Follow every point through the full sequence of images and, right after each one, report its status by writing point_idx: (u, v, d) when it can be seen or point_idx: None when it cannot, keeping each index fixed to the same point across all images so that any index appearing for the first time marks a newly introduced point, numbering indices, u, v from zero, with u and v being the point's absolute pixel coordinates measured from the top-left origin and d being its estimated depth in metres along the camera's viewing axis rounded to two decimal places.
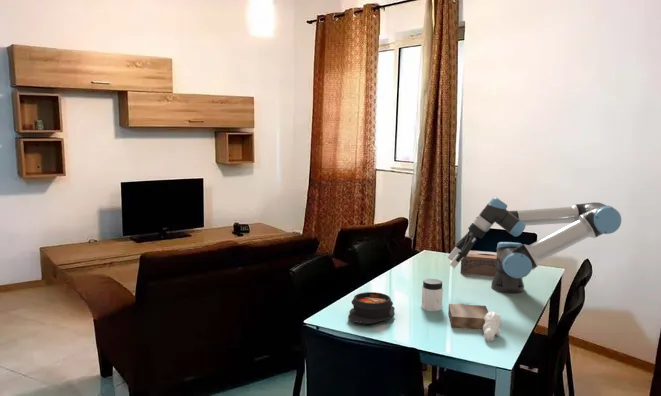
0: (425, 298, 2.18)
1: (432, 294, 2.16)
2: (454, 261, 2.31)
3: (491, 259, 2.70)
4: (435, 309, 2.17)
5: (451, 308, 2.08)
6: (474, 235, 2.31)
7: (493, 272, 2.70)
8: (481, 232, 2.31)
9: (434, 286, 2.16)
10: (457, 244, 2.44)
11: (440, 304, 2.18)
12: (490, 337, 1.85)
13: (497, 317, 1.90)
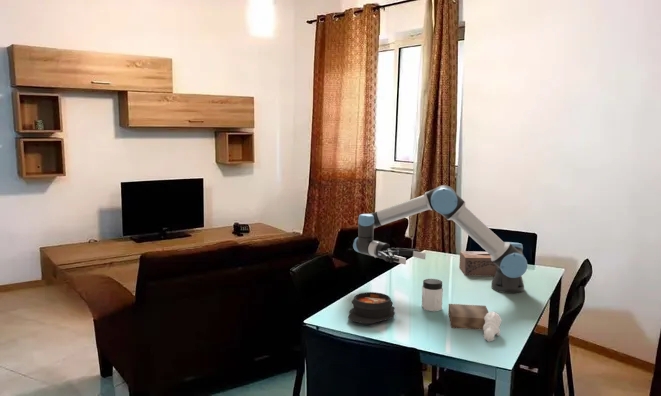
0: (425, 298, 2.18)
1: (432, 294, 2.16)
2: (400, 261, 2.23)
3: None
4: (435, 309, 2.17)
5: (451, 308, 2.08)
6: None
7: None
8: (377, 248, 2.38)
9: (434, 286, 2.16)
10: None
11: (440, 304, 2.18)
12: (490, 337, 1.85)
13: (497, 317, 1.90)
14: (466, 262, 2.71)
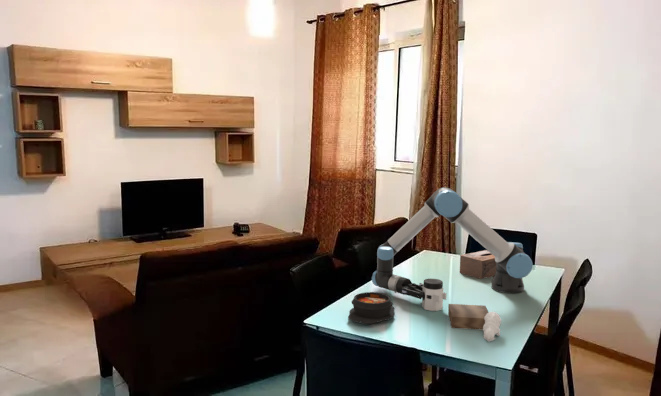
0: (426, 298, 2.18)
1: None
2: (433, 299, 2.17)
3: None
4: (436, 309, 2.17)
5: (451, 308, 2.08)
6: (401, 289, 2.28)
7: None
8: (397, 284, 2.31)
9: (435, 286, 2.16)
10: None
11: (441, 304, 2.19)
12: (490, 337, 1.85)
13: (497, 317, 1.90)
14: (482, 265, 2.65)
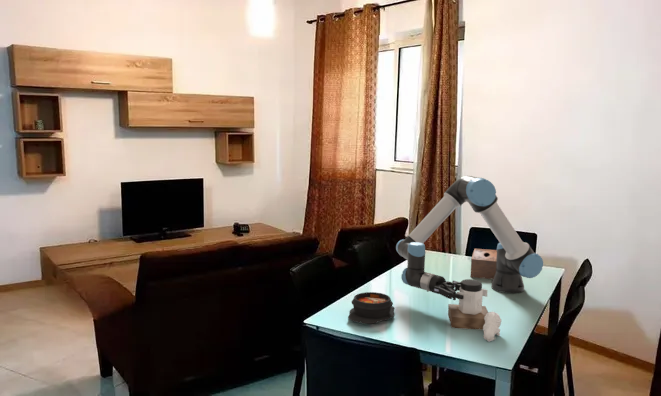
0: (464, 301, 2.01)
1: (472, 296, 2.00)
2: (465, 299, 1.99)
3: None
4: (475, 312, 2.01)
5: (451, 308, 2.08)
6: None
7: None
8: (430, 282, 2.14)
9: (474, 288, 1.99)
10: None
11: (480, 307, 2.02)
12: (490, 337, 1.85)
13: (497, 317, 1.90)
14: None
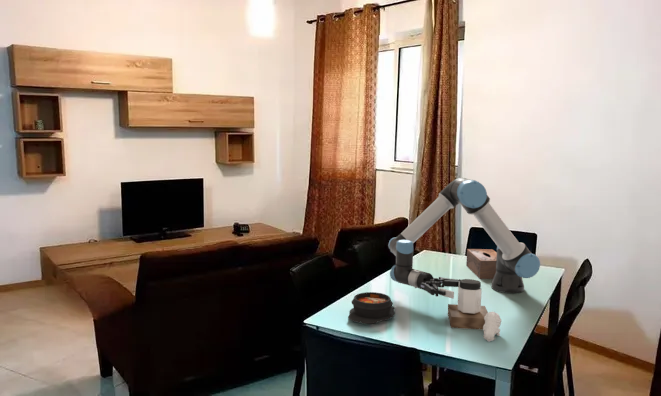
0: (464, 300, 2.01)
1: (472, 294, 2.00)
2: (447, 295, 2.03)
3: None
4: (475, 311, 2.01)
5: (450, 308, 2.08)
6: None
7: None
8: (418, 279, 2.18)
9: (474, 286, 2.00)
10: None
11: (479, 306, 2.03)
12: (490, 337, 1.85)
13: (497, 317, 1.90)
14: None
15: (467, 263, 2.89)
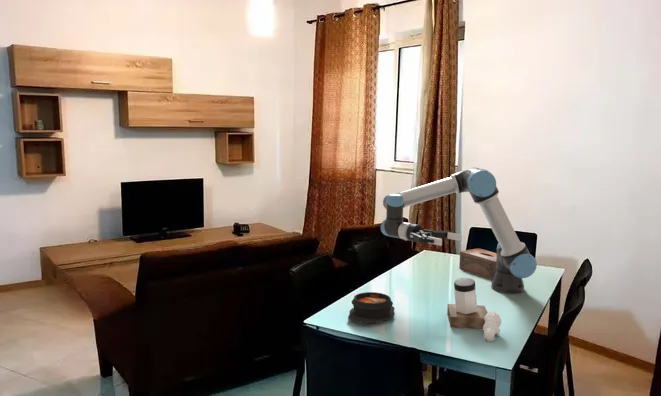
0: (465, 302, 2.00)
1: (472, 295, 2.00)
2: (435, 243, 2.06)
3: None
4: (476, 309, 2.02)
5: (450, 308, 2.08)
6: None
7: None
8: (408, 230, 2.21)
9: (473, 286, 1.99)
10: None
11: None
12: (490, 337, 1.85)
13: (497, 317, 1.90)
14: None
15: (462, 265, 2.84)
